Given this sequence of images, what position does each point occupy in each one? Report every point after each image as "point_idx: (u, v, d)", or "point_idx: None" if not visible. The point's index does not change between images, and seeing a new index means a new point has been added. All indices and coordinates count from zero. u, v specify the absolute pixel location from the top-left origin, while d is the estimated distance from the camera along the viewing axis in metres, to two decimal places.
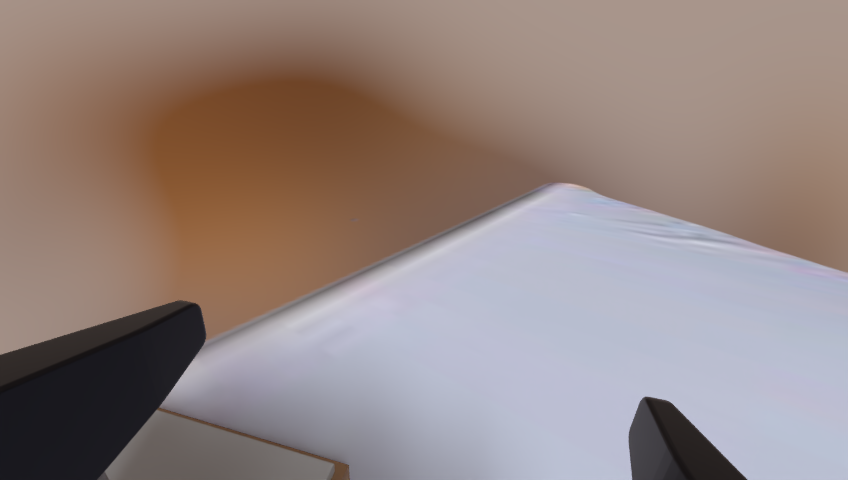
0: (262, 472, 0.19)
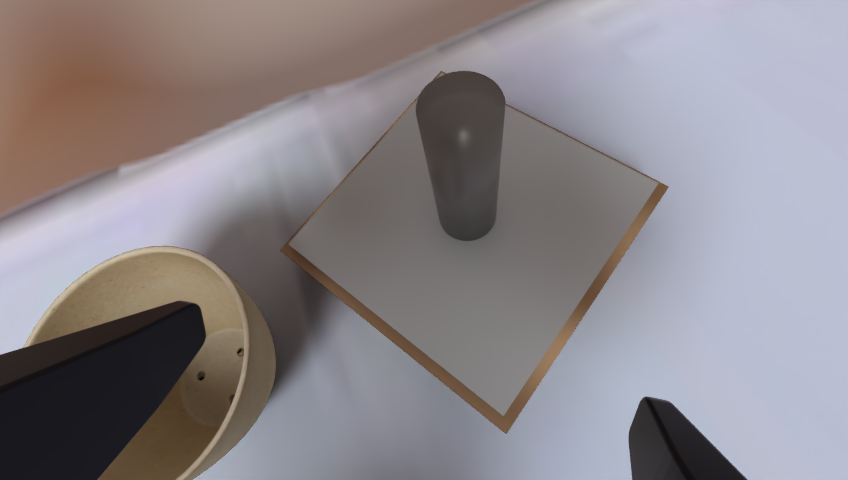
0: (587, 173, 0.20)
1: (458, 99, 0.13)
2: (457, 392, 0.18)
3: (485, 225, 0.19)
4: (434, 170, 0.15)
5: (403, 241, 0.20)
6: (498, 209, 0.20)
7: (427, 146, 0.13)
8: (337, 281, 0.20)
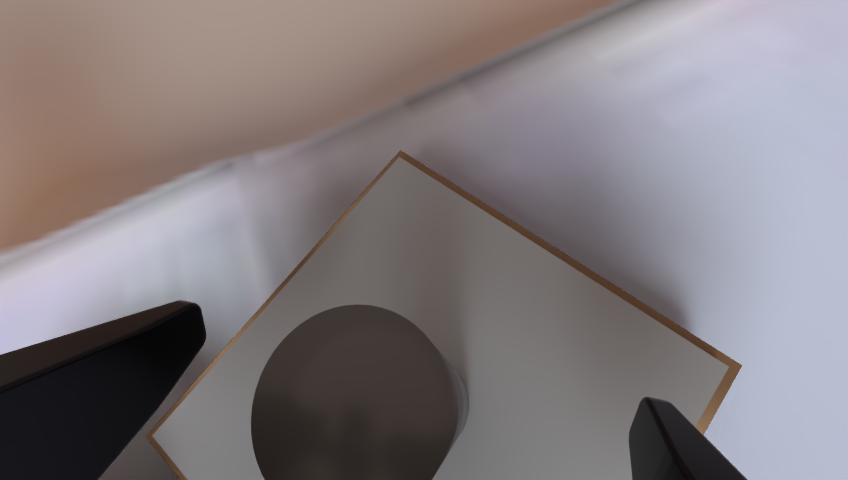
0: (612, 341, 0.13)
1: (348, 385, 0.06)
2: None
3: None
4: None
5: None
6: (473, 397, 0.13)
7: None
8: None
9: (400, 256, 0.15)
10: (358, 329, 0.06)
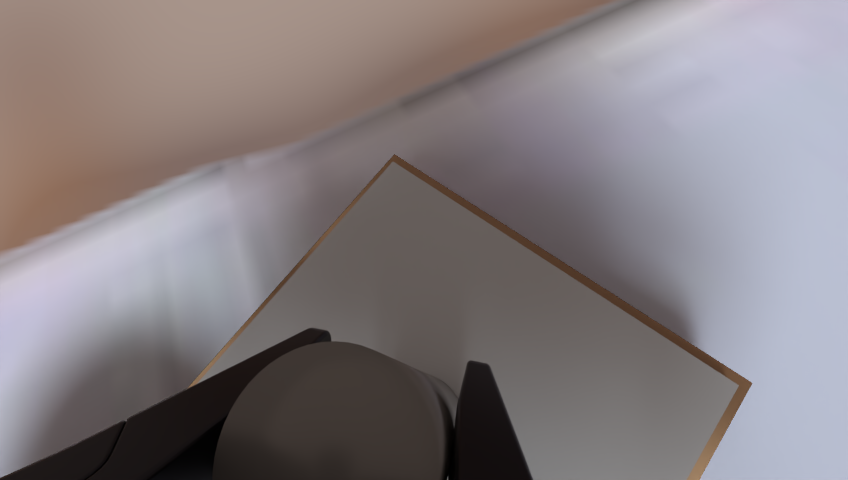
0: (616, 357, 0.12)
1: (322, 436, 0.05)
2: None
3: None
4: None
5: None
6: None
7: None
8: None
9: (393, 266, 0.14)
10: (334, 370, 0.05)
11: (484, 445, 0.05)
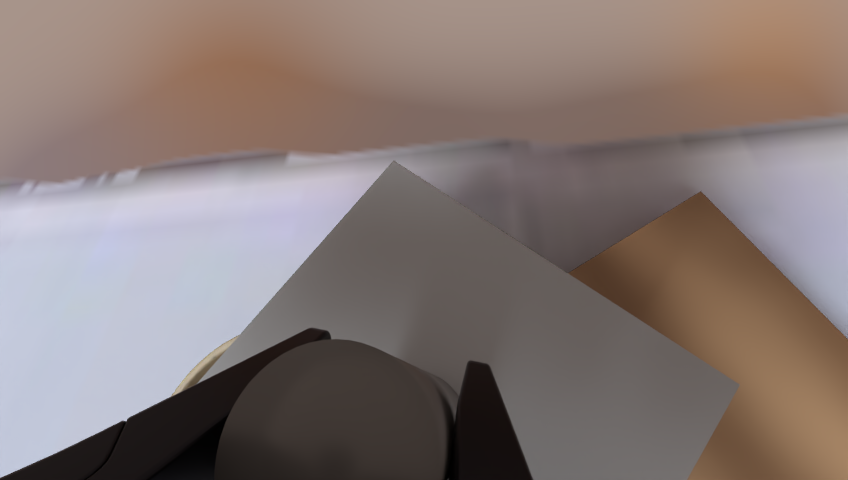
0: (617, 356, 0.12)
1: (324, 433, 0.05)
2: None
3: None
4: None
5: None
6: None
7: None
8: None
9: (394, 265, 0.14)
10: (336, 368, 0.05)
11: (484, 445, 0.05)
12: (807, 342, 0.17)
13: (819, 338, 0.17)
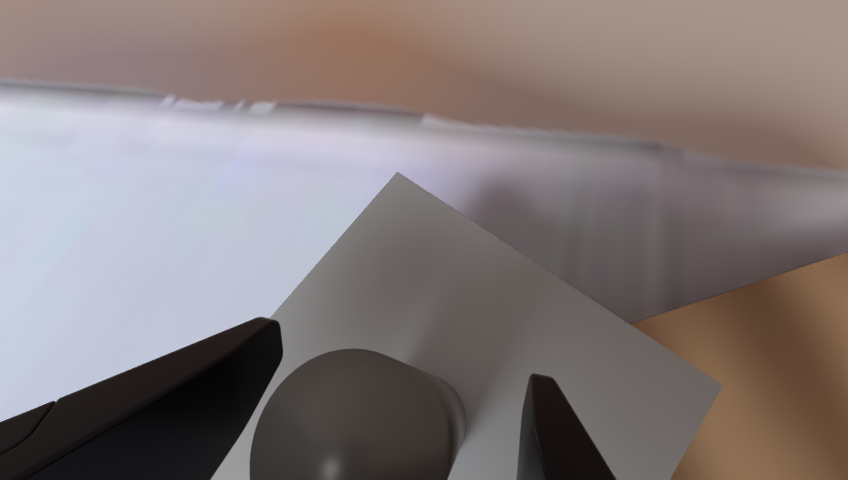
0: (608, 359, 0.13)
1: (344, 431, 0.06)
2: None
3: None
4: None
5: None
6: (470, 415, 0.13)
7: None
8: None
9: (398, 272, 0.15)
10: (354, 374, 0.06)
11: (573, 467, 0.05)
12: None
13: None
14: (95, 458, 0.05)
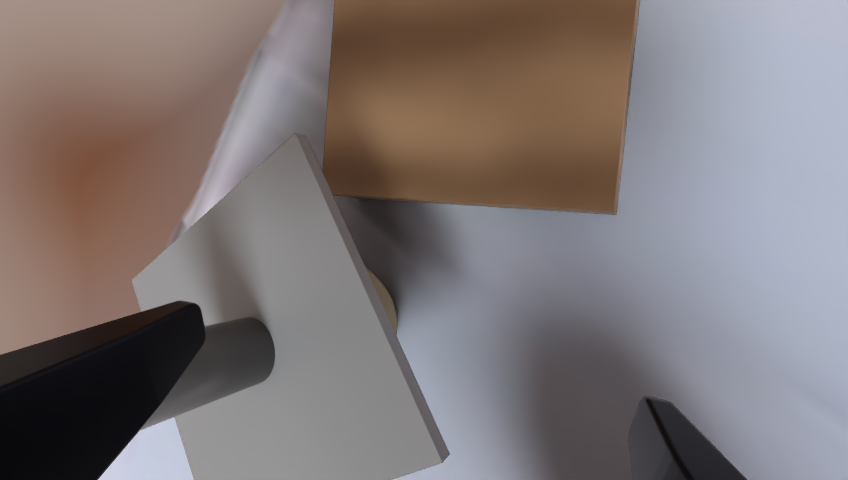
0: (260, 202, 0.17)
1: None
2: (543, 205, 0.16)
3: (251, 353, 0.16)
4: None
5: (250, 431, 0.17)
6: (257, 316, 0.17)
7: None
8: None
9: None
10: None
11: None
12: None
13: None
14: None
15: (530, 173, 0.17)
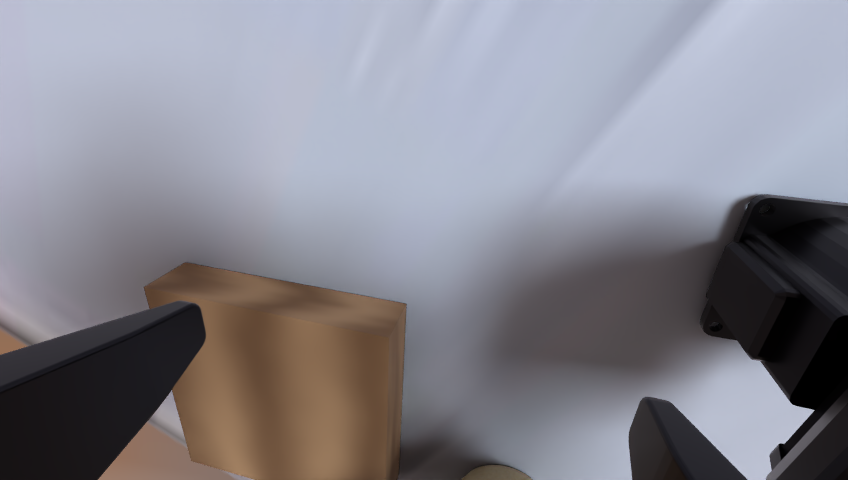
0: None
1: None
2: (386, 377, 0.21)
3: None
4: None
5: None
6: None
7: None
8: None
9: None
10: None
11: None
12: (188, 385, 0.25)
13: (180, 382, 0.25)
14: None
15: (363, 382, 0.21)
